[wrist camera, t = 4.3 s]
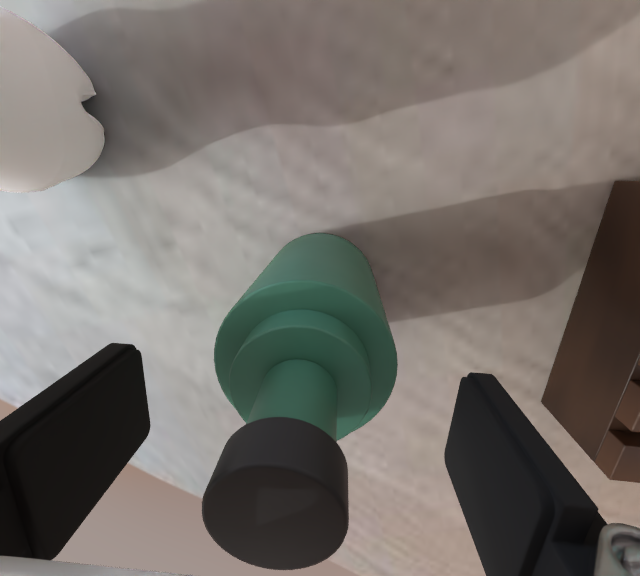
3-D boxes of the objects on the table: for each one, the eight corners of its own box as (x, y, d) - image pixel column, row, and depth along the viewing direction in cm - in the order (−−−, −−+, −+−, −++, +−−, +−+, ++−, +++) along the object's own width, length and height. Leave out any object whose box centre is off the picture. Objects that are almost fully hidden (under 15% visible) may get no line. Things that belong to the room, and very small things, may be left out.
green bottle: (268, 229, 18) (83, 363, 5) (379, 236, 18) (479, 398, 5) (268, 328, 20) (133, 607, 7) (367, 336, 19) (416, 641, 7)
